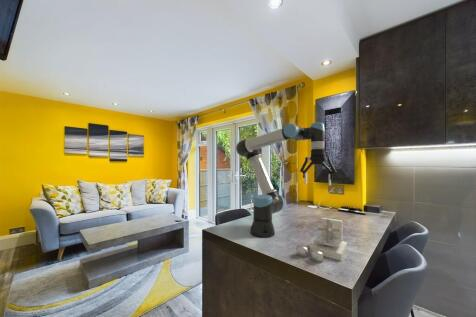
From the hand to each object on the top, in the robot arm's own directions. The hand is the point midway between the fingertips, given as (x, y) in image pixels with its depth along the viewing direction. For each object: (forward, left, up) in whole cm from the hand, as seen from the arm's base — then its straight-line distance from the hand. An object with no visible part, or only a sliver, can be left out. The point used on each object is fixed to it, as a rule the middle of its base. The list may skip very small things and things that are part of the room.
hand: (317, 184), depth 119 cm
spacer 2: (+7, -28, -32) cm, 43 cm away
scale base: (+9, -13, -32) cm, 35 cm away
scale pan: (+9, -15, -27) cm, 32 cm away
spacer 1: (0, -27, -32) cm, 42 cm away
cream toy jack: (+9, -15, -26) cm, 31 cm away
